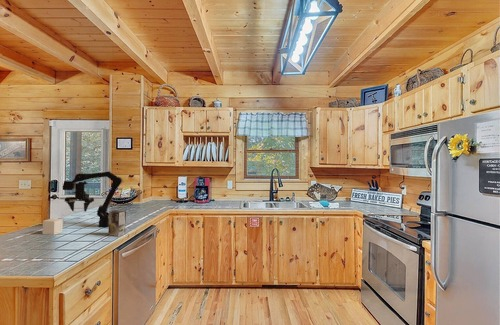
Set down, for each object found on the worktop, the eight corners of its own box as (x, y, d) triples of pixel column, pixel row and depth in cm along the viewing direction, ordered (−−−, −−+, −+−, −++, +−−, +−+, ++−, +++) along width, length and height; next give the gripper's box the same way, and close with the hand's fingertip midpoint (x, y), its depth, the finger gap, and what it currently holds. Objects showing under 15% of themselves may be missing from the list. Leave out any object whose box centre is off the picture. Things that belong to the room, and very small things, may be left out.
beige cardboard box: (62, 231, 182) (62, 218, 182) (53, 234, 175) (54, 221, 175) (51, 231, 182) (51, 218, 182) (42, 234, 175) (43, 220, 175)
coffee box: (125, 234, 182) (126, 211, 182) (118, 236, 176) (119, 212, 176) (115, 232, 185) (116, 209, 185) (107, 234, 179) (108, 211, 179)
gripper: (98, 189, 203) (97, 209, 203) (74, 188, 203) (74, 208, 203) (89, 191, 191) (88, 212, 191) (64, 190, 192) (63, 211, 192)
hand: (79, 211), depth 195 cm, fingers open, 9 cm apart
